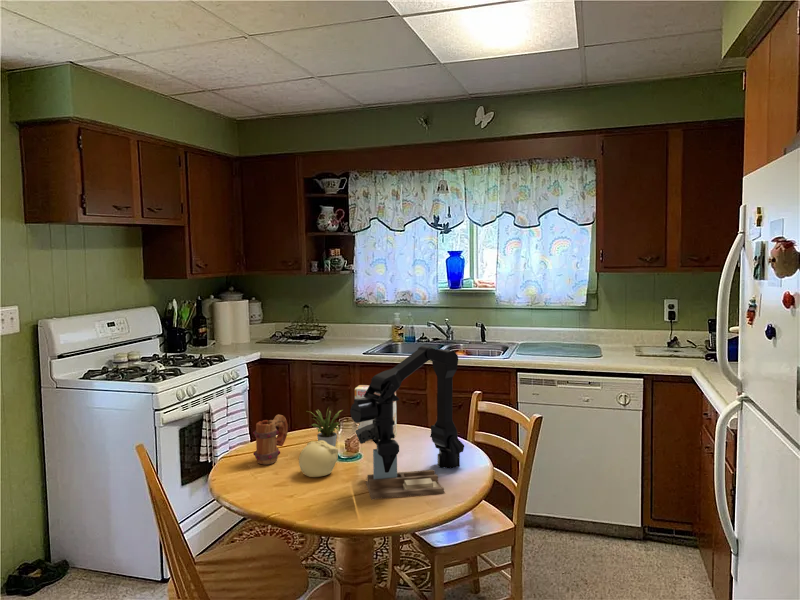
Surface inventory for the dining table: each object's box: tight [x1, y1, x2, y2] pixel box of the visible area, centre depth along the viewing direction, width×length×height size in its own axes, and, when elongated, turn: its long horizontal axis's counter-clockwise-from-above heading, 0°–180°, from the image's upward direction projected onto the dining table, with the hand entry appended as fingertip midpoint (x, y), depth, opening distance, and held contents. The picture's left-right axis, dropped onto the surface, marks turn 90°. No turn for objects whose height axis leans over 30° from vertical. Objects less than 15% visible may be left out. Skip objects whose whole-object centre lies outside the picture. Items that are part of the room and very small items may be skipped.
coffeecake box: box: [354, 384, 398, 440], centre depth 236 cm, size 15×7×20 cm, turn 77°
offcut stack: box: [403, 478, 439, 490], centre depth 182 cm, size 10×4×2 cm, turn 100°
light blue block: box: [372, 448, 398, 479], centre depth 186 cm, size 7×2×11 cm, turn 100°
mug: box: [252, 414, 289, 466], centre depth 211 cm, size 15×8×15 cm, turn 148°
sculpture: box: [298, 440, 339, 478], centre depth 198 cm, size 12×12×11 cm
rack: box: [364, 469, 446, 500], centre depth 184 cm, size 22×14×4 cm, turn 100°
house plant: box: [307, 406, 344, 447], centre depth 219 cm, size 14×14×16 cm
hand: (384, 466), depth 186 cm, fingers open, 9 cm apart
